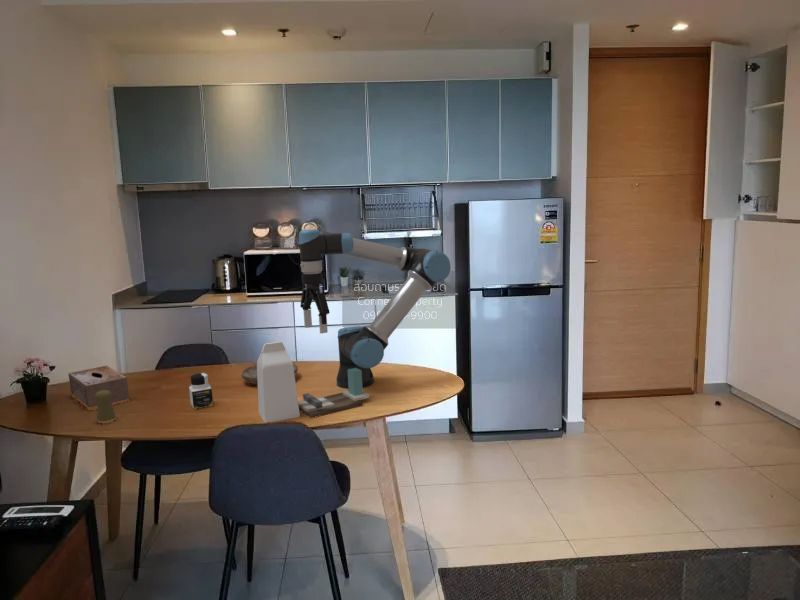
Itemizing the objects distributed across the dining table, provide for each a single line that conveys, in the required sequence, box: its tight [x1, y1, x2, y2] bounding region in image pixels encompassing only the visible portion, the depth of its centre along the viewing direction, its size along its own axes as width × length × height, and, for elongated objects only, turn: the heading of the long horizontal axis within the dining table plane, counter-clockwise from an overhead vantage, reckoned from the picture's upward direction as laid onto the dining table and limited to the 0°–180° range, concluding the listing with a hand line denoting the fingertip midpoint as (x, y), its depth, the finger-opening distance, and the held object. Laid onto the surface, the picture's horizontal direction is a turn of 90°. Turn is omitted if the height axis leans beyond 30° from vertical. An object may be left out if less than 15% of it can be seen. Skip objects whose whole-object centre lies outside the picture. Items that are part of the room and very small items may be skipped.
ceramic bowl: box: [240, 363, 299, 385], centre depth 256 cm, size 23×24×5 cm
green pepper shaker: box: [95, 390, 116, 421], centre depth 215 cm, size 6×6×11 cm
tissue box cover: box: [68, 365, 130, 407], centre depth 241 cm, size 26×14×10 cm, turn 41°
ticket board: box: [298, 392, 363, 419], centre depth 220 cm, size 14×20×4 cm
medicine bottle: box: [188, 372, 214, 410], centre depth 228 cm, size 7×7×12 cm
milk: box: [256, 341, 301, 424], centre depth 212 cm, size 12×12×26 cm
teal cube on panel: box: [342, 368, 370, 401], centre depth 225 cm, size 10×6×10 cm, turn 32°
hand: (315, 329), depth 224 cm, fingers open, 13 cm apart
